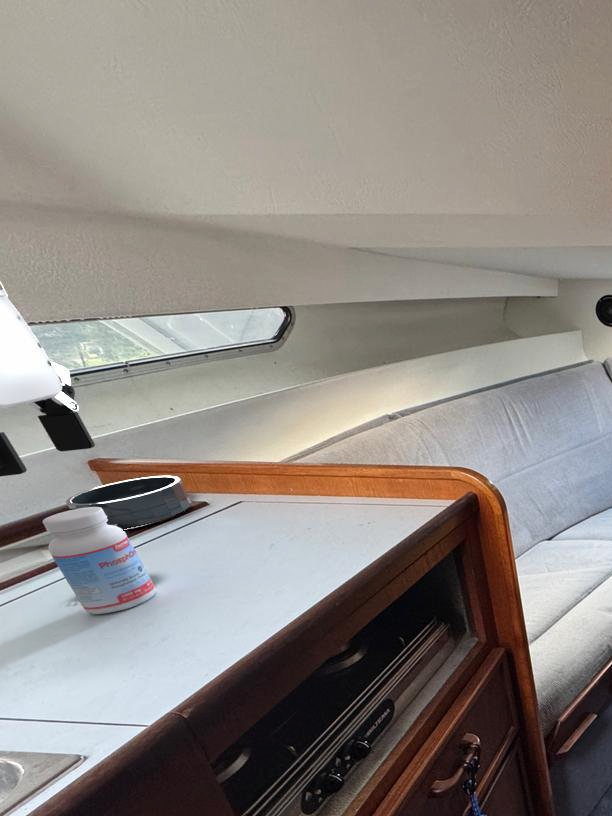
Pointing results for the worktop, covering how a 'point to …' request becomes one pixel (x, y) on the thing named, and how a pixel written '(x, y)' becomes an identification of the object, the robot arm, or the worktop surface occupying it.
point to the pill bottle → (98, 561)
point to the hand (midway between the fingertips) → (44, 461)
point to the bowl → (136, 500)
